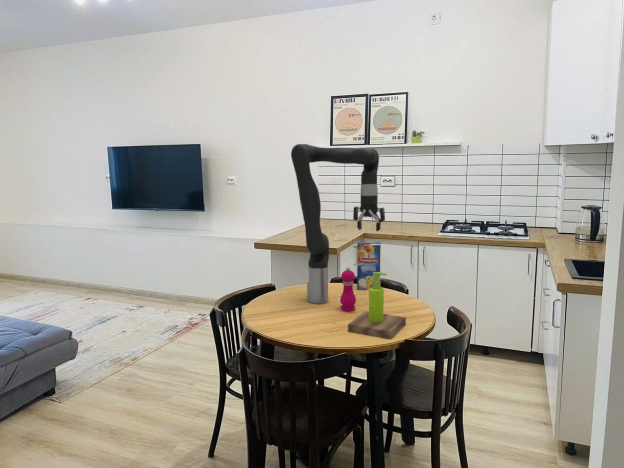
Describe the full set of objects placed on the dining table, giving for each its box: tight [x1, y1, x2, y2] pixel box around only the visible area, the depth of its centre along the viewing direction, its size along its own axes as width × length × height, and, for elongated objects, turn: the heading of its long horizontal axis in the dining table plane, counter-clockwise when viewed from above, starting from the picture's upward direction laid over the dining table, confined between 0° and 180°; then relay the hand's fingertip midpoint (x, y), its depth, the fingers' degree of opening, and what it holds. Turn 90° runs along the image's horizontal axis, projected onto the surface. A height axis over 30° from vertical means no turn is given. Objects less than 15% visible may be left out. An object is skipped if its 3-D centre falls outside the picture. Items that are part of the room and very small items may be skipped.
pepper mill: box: [339, 266, 357, 313], centre depth 211 cm, size 7×7×20 cm
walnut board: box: [347, 310, 407, 340], centre depth 190 cm, size 18×18×3 cm
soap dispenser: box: [368, 271, 387, 323], centre depth 188 cm, size 6×7×20 cm
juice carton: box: [356, 241, 382, 291], centre depth 245 cm, size 12×8×24 cm, turn 83°
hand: (368, 230), depth 209 cm, fingers open, 8 cm apart
